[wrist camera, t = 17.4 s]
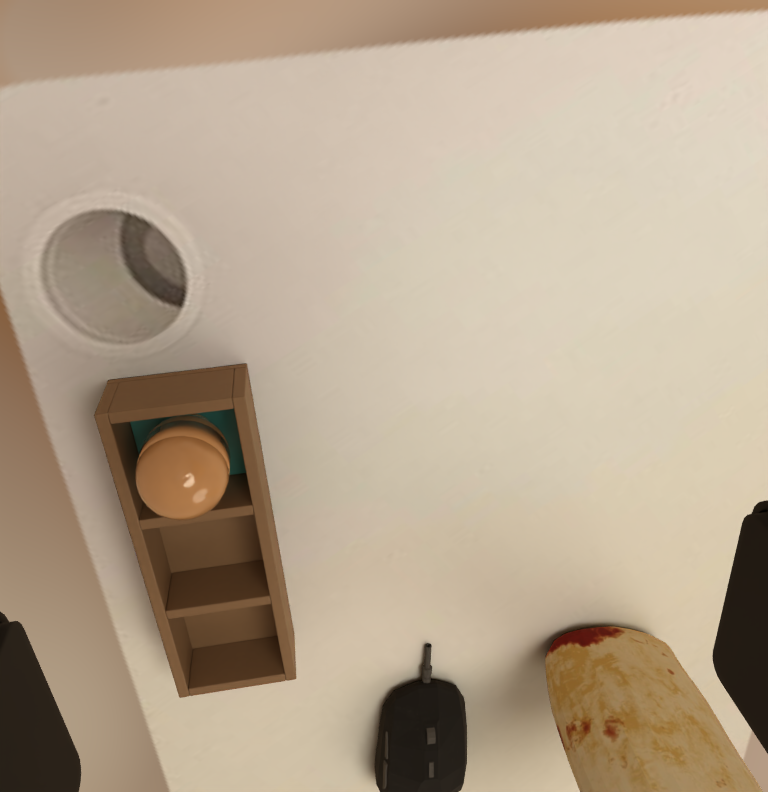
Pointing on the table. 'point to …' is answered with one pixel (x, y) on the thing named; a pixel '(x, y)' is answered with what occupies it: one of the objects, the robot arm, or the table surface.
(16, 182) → the table surface
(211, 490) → the egg
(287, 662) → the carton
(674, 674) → the food model
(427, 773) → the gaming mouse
